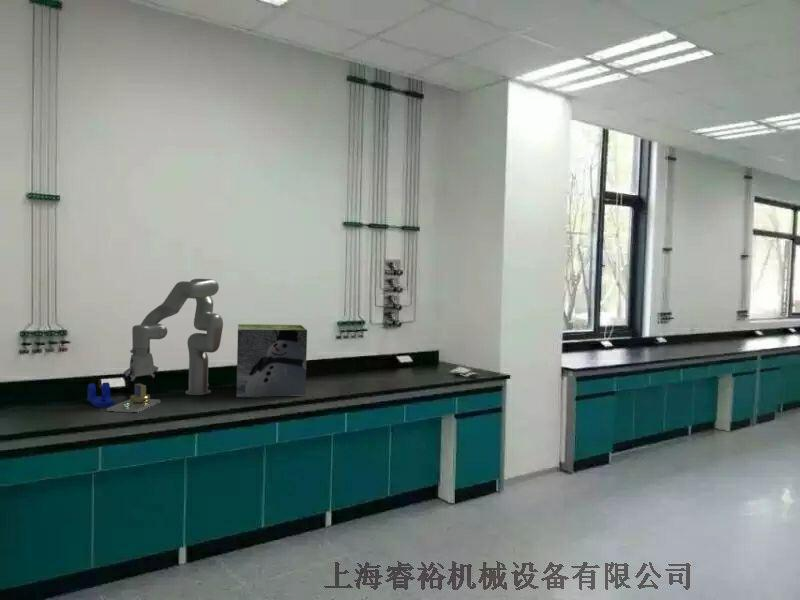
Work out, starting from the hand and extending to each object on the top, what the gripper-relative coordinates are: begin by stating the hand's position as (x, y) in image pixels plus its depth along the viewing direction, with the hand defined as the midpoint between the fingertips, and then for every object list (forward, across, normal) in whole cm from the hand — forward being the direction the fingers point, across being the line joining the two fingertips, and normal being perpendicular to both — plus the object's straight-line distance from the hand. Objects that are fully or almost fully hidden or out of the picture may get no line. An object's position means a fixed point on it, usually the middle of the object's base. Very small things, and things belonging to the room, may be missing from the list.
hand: (141, 387), depth 280 cm
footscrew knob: (+6, -1, -1) cm, 7 cm away
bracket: (+8, -11, +15) cm, 20 cm away
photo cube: (+10, +64, -19) cm, 68 cm away
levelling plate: (+8, -5, -3) cm, 10 cm away
